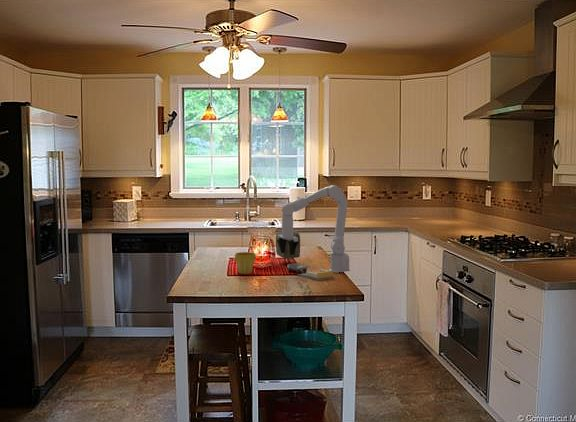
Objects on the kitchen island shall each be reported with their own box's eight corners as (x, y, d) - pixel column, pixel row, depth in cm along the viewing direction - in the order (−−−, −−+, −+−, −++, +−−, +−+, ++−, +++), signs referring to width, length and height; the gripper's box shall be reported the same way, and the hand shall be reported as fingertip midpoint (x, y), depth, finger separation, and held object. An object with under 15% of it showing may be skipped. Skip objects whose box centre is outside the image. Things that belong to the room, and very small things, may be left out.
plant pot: (255, 270, 277) (255, 251, 276) (255, 274, 267) (255, 255, 266) (235, 270, 277) (235, 251, 276) (234, 274, 267) (234, 255, 266)
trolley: (296, 269, 280) (296, 262, 279) (307, 272, 273) (307, 265, 272) (287, 271, 276) (287, 264, 276) (297, 273, 269) (297, 267, 269)
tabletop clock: (300, 265, 292) (300, 219, 289) (284, 266, 288) (284, 220, 286) (290, 260, 305) (290, 217, 303) (275, 261, 302) (275, 217, 299)
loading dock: (312, 272, 272) (312, 265, 272) (333, 277, 260) (333, 270, 259) (297, 274, 266) (297, 267, 266) (317, 280, 254) (317, 273, 253)
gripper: (272, 226, 277) (272, 252, 278) (290, 229, 266) (290, 256, 267) (283, 225, 282) (283, 251, 283) (301, 228, 270) (301, 255, 271)
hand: (287, 253), depth 275 cm, fingers open, 7 cm apart
